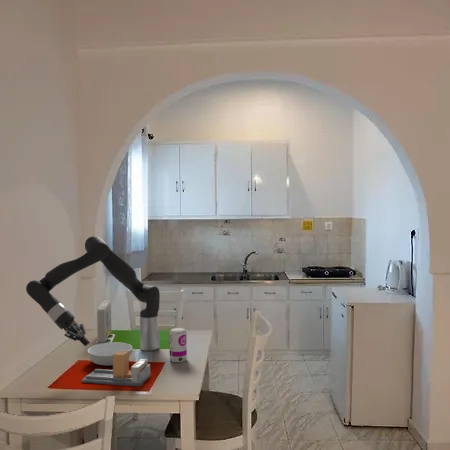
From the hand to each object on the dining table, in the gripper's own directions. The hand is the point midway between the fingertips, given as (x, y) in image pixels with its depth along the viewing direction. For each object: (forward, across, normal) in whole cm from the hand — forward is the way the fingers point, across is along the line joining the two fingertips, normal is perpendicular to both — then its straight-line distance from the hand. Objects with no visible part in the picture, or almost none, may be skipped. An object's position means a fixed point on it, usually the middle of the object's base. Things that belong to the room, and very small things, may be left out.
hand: (87, 344), depth 196 cm
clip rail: (+20, 0, -1) cm, 20 cm away
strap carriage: (+23, 0, +4) cm, 23 cm away
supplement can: (+34, -28, +12) cm, 45 cm away
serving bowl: (+11, -19, -10) cm, 24 cm away
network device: (-3, -55, -24) cm, 60 cm away
